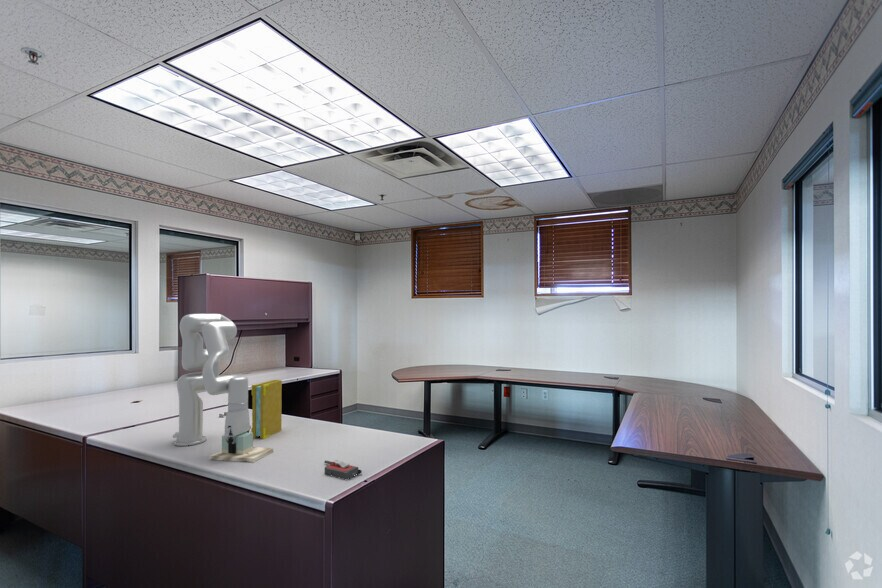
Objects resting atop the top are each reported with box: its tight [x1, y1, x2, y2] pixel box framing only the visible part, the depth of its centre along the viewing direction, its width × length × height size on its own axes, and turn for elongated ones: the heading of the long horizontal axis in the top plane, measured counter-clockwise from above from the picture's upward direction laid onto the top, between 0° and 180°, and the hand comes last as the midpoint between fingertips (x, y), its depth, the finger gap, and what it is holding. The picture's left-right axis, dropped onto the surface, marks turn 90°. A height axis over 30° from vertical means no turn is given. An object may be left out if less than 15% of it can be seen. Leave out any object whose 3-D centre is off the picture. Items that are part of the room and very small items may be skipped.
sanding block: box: [221, 432, 254, 454], centre depth 173 cm, size 10×6×7 cm, turn 79°
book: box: [250, 379, 283, 440], centre depth 205 cm, size 17×7×25 cm, turn 168°
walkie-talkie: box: [323, 459, 363, 480], centre depth 152 cm, size 9×4×20 cm
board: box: [209, 446, 274, 463], centre depth 172 cm, size 20×13×2 cm, turn 78°
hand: (237, 450), depth 172 cm, fingers closed on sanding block, 6 cm apart
